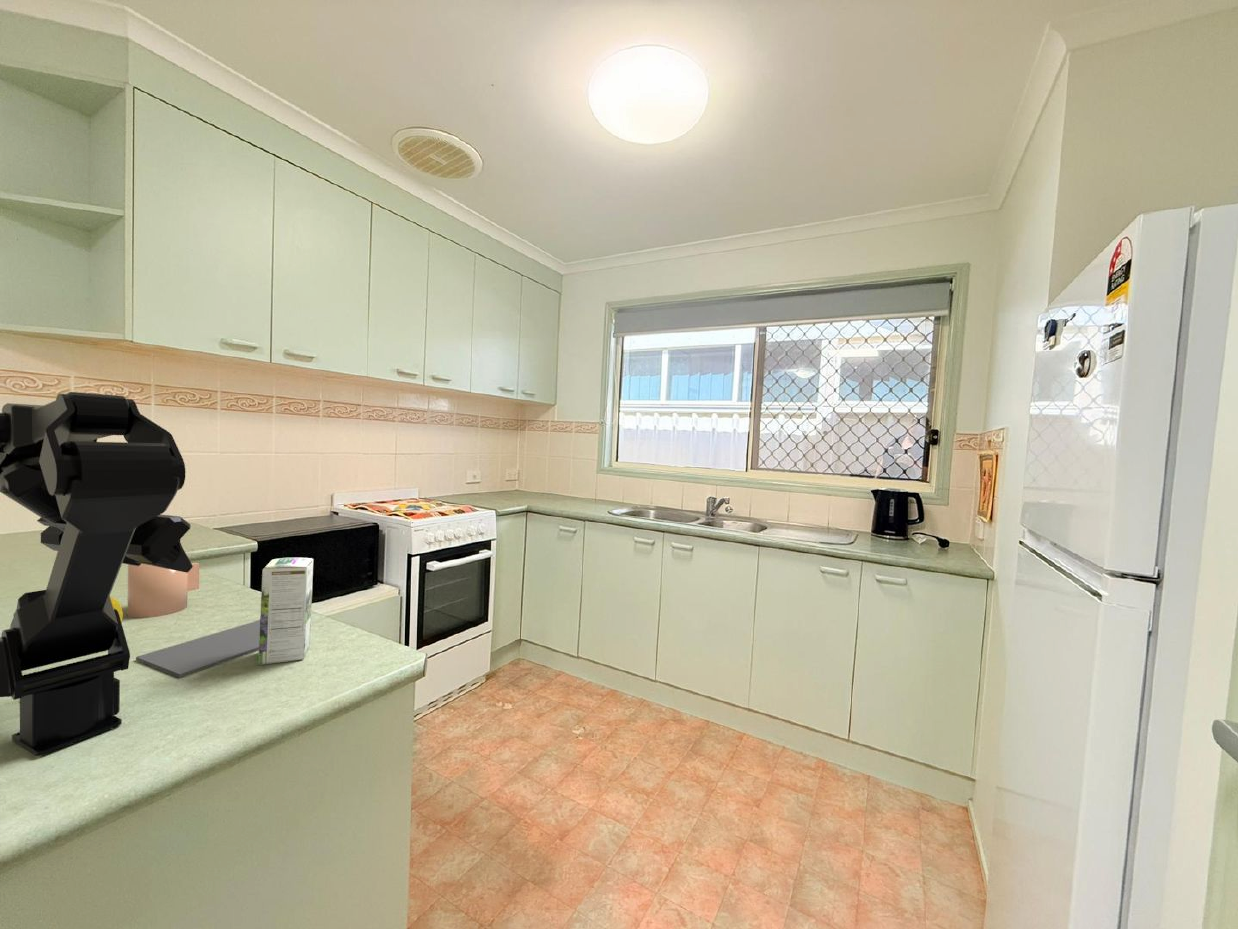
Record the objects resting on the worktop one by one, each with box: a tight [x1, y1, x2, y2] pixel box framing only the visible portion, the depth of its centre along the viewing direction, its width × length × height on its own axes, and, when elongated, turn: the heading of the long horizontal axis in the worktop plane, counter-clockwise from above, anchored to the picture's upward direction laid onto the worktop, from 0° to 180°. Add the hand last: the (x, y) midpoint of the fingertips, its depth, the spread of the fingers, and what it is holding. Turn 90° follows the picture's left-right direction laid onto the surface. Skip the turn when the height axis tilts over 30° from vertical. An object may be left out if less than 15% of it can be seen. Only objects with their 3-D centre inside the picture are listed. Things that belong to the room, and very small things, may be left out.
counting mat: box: [135, 619, 260, 679], centre depth 76 cm, size 18×11×1 cm, turn 158°
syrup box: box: [257, 557, 314, 665], centre depth 74 cm, size 6×6×14 cm
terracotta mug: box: [126, 562, 200, 619], centre depth 90 cm, size 10×8×9 cm
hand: (165, 566), depth 71 cm, fingers open, 9 cm apart
